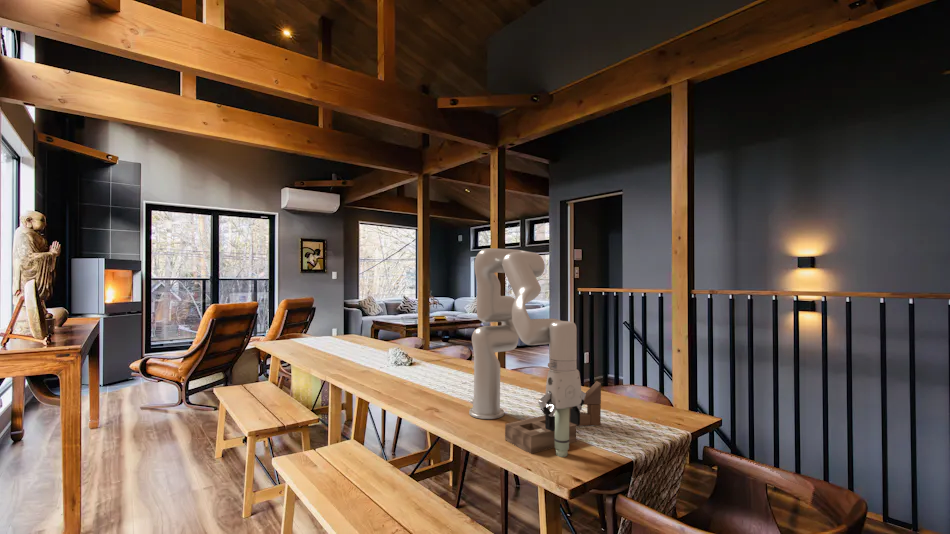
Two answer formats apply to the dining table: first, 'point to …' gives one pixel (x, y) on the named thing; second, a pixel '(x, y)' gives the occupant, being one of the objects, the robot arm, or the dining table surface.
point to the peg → (562, 432)
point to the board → (534, 434)
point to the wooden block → (591, 406)
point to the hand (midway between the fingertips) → (562, 426)
